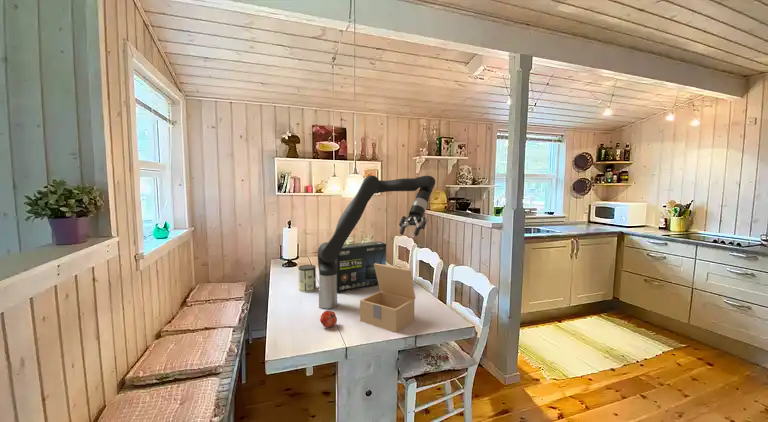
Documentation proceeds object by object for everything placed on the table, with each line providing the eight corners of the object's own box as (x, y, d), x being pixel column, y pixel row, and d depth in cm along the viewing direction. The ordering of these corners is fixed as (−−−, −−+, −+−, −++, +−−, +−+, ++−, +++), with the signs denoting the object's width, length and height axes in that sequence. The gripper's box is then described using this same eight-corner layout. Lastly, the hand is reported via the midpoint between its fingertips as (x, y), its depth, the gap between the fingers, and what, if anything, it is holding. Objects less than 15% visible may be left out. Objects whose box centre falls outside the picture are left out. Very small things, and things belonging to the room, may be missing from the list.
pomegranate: (317, 331, 147) (325, 324, 140) (315, 315, 151) (323, 308, 144) (333, 329, 151) (341, 322, 144) (330, 314, 154) (338, 306, 148)
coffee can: (307, 285, 205) (307, 263, 204) (319, 288, 200) (319, 266, 199) (295, 290, 197) (294, 267, 196) (307, 293, 191) (306, 269, 190)
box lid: (380, 291, 165) (381, 289, 166) (414, 299, 154) (415, 298, 154) (373, 264, 159) (375, 262, 160) (409, 270, 148) (410, 269, 149)
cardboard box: (380, 310, 166) (380, 291, 165) (414, 320, 154) (414, 299, 154) (359, 321, 153) (359, 300, 152) (395, 332, 141) (395, 310, 140)
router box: (336, 294, 190) (336, 248, 188) (328, 289, 200) (328, 245, 197) (387, 283, 210) (387, 242, 208) (378, 279, 219) (378, 240, 217)
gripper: (404, 204, 174) (393, 229, 166) (427, 204, 165) (417, 231, 158) (410, 212, 179) (400, 237, 171) (433, 212, 170) (423, 239, 163)
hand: (408, 234), depth 165 cm, fingers open, 8 cm apart
